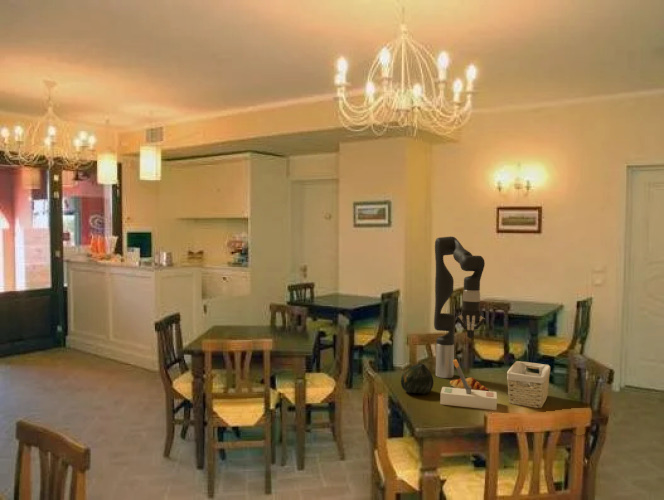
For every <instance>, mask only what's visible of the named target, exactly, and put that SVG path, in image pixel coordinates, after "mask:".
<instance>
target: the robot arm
mask: <svg viewBox="0 0 664 500" xmlns="http://www.w3.org/2000/svg"><path fill="white" fill-rule="evenodd" d="M434 256H435V278H434V279H435V283H434V284H435V285H434V291H435V292H434V293H435V294H434V295H435V296H434V297H435V303H434V305H435V306H434V316H433V317H434V318H433V319H434V320H433V325H434V326H433V327H434V329H435V330H436V331H440V332H447V333H446V334H444V335H441V336H438V337H437V338H436V344H435V345H436V347H435V348H436V349H435V353H436V354H435V376H436V377H437V378H441V379H452V378H454V370H455V369H454V367H455V365H454V363H453V360H455V330H456V329H455V327H456V320H457V322H459V324H460V326H462V328H463V330H464V329H466V331H467V332H466V333H467V334H466V337H467V338H468V339H471V340H472V339H473V338H474V335H475V331H476V330H478V329H479V328H480V327H481V326H483V325H482V324H484V323H485V321H486V318H485V317H483V316H482V314H481V312H480V311H481V292H480V291H481V279H482V275H483V272H484V268H485V263H486V262H485V259H484V258H483V256H481V255H473V254H472V253H471V252H470V251H469V250H467V249H465V248H464V246H463V245H462V243H461V242H460V241H459V240H458V239H457V238H456V237H455V236H443V237H436V239H435V242H434ZM444 256H453V259H454V261H456V262H457V263H458V264H459V266H460V269H461V270H463V271H465V272H473V273H472V274H471V275H468V276H465V277H464V278H463V293H462V310H461V311H462V312H461V314H460V315H458V316H457V317H456V316H455V314H454V313H448V312H444V313H443V312H442V310H443V307H444V306H445V305H446V302H447V301H448V300H449V299H450V298H451V296H452V295H453V292H454V284H455V283H454V282H455V281H454V277H453V275H452V274H451V272H450V271H449V269H448V268H447V266H446V264H445V261H444ZM463 320H464V321H465V322H466V323H465V322H464V321H463ZM478 321H479V322H478ZM477 322H478V323H477ZM475 323H477V324H476V325H475Z"/></svg>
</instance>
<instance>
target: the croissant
mask: <svg viewBox="0 0 664 500" xmlns="http://www.w3.org/2000/svg"><path fill="white" fill-rule="evenodd" d="M465 379H466V382H467V384H468V386H469V387H471V390H481V391H490V389H489V388H488V387H486V386H484V385H482V384H481V382H480V381H477V380H476V378H474V377H467V378H466V377H465ZM449 385H450V386H451V387H452V388H460V389H465V387H464V385H463V382H462V380H461V378H460V377H459V378H458V379H452V380H450V381H449Z"/></svg>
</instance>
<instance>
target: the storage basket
mask: <svg viewBox="0 0 664 500" xmlns="http://www.w3.org/2000/svg"><path fill="white" fill-rule="evenodd" d="M527 369H533V370H538V372H539V373H536V372H529V371H527ZM506 374H507V375H506V379H507V380H506V382H507V394H508V403H510V404H512V405H517V406H524V407H529V408H530V407H531V408H537V409H541V408H542V407H543V406H544V404H545V403H546V400H547V398H548V395H549V385H550V374H551V366H550V365H549V364H542V363H536V362H530V361H529V362H528V361H519V360H516V361H515V362H514V363H513V364H512V365H511V366H510V367H509V369H508V370H507V372H506Z"/></svg>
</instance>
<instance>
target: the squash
mask: <svg viewBox="0 0 664 500" xmlns="http://www.w3.org/2000/svg"><path fill="white" fill-rule="evenodd" d="M400 384H401V387H402V389H403V390H404V391H405V392H407V393H408V394H419V395H426V394H428V393H430V392H431V390H432V389H433V387H434V378H433V374H432V372H431V371H430V369H429V368H428V367H427V365H425V363H417V364H415V365H413V366H410V367H408V368H407V369H406V370H404V372H403V373H402V375H401V378H400Z"/></svg>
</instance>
